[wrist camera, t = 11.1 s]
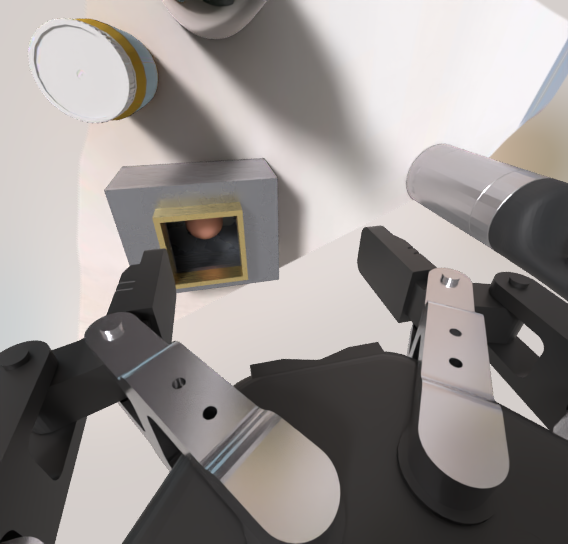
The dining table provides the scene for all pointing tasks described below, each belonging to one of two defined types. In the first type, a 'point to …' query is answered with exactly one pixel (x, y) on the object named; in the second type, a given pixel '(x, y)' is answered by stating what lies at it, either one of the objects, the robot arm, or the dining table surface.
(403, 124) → the dining table surface
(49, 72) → the bottle
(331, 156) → the dining table surface
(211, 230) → the ball
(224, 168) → the grey box with opening
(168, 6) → the dark green wine bottle
